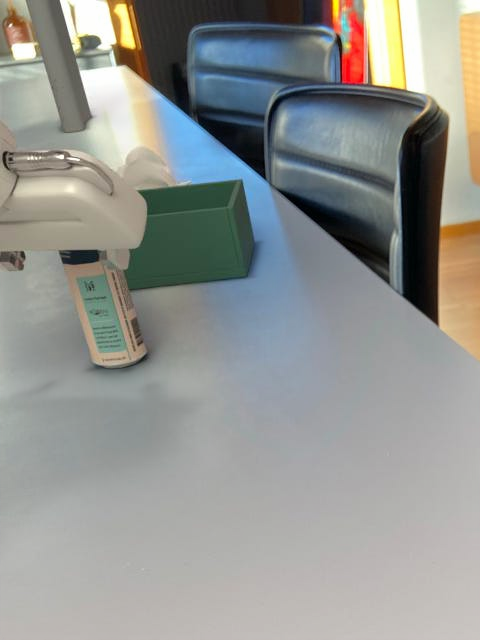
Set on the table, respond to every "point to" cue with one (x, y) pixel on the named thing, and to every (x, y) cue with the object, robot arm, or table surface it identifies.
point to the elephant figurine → (146, 170)
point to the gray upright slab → (60, 63)
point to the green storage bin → (193, 235)
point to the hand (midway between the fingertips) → (68, 262)
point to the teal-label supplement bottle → (104, 309)
